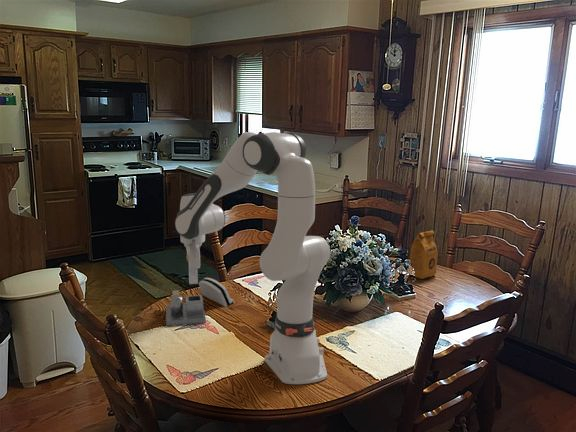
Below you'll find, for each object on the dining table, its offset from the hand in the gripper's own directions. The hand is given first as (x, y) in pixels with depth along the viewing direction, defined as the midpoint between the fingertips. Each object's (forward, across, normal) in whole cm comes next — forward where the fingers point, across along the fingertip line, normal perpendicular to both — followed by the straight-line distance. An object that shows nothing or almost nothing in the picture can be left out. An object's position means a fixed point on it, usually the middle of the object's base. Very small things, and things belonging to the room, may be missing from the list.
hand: (193, 272), depth 181 cm
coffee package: (+17, +23, -109) cm, 112 cm away
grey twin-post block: (+17, +1, +3) cm, 18 cm away
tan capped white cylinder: (+4, 0, 0) cm, 4 cm away
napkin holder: (+18, +14, -10) cm, 24 cm away
